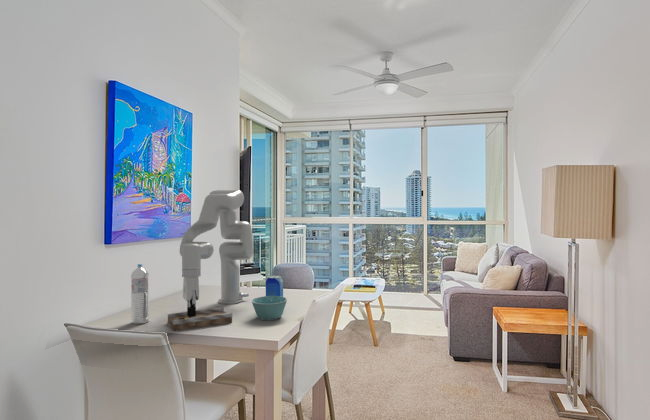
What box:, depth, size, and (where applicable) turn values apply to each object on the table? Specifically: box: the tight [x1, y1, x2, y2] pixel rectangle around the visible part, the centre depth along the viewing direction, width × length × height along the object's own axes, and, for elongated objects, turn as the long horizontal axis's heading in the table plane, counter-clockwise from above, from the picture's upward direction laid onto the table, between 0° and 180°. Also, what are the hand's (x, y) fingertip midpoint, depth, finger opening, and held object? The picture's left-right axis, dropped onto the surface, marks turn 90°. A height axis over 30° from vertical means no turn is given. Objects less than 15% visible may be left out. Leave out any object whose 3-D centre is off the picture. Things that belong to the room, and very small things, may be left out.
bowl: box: [251, 295, 288, 321], centre depth 187 cm, size 16×16×8 cm
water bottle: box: [130, 263, 150, 325], centre depth 180 cm, size 7×7×25 cm
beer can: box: [265, 275, 284, 297], centre depth 203 cm, size 8×8×16 cm
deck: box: [167, 306, 233, 332], centre depth 179 cm, size 24×13×4 cm, turn 120°
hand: (191, 316), depth 177 cm, fingers closed
